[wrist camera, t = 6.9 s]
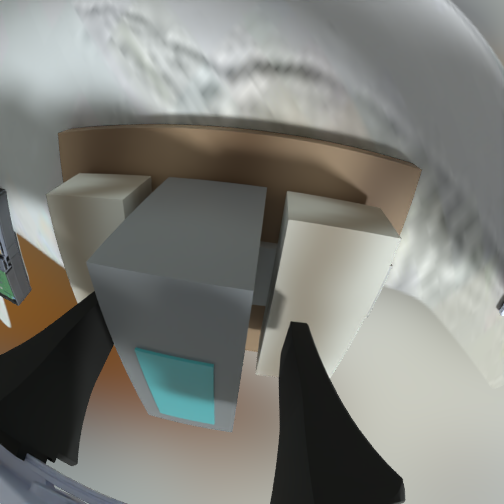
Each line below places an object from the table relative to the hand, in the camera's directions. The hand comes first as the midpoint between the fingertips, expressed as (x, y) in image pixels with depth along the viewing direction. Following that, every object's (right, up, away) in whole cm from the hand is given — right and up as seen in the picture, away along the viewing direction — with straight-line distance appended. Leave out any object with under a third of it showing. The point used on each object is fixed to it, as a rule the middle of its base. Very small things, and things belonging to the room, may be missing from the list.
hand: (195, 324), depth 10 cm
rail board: (0, +3, +4) cm, 5 cm away
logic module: (0, +2, +3) cm, 3 cm away
